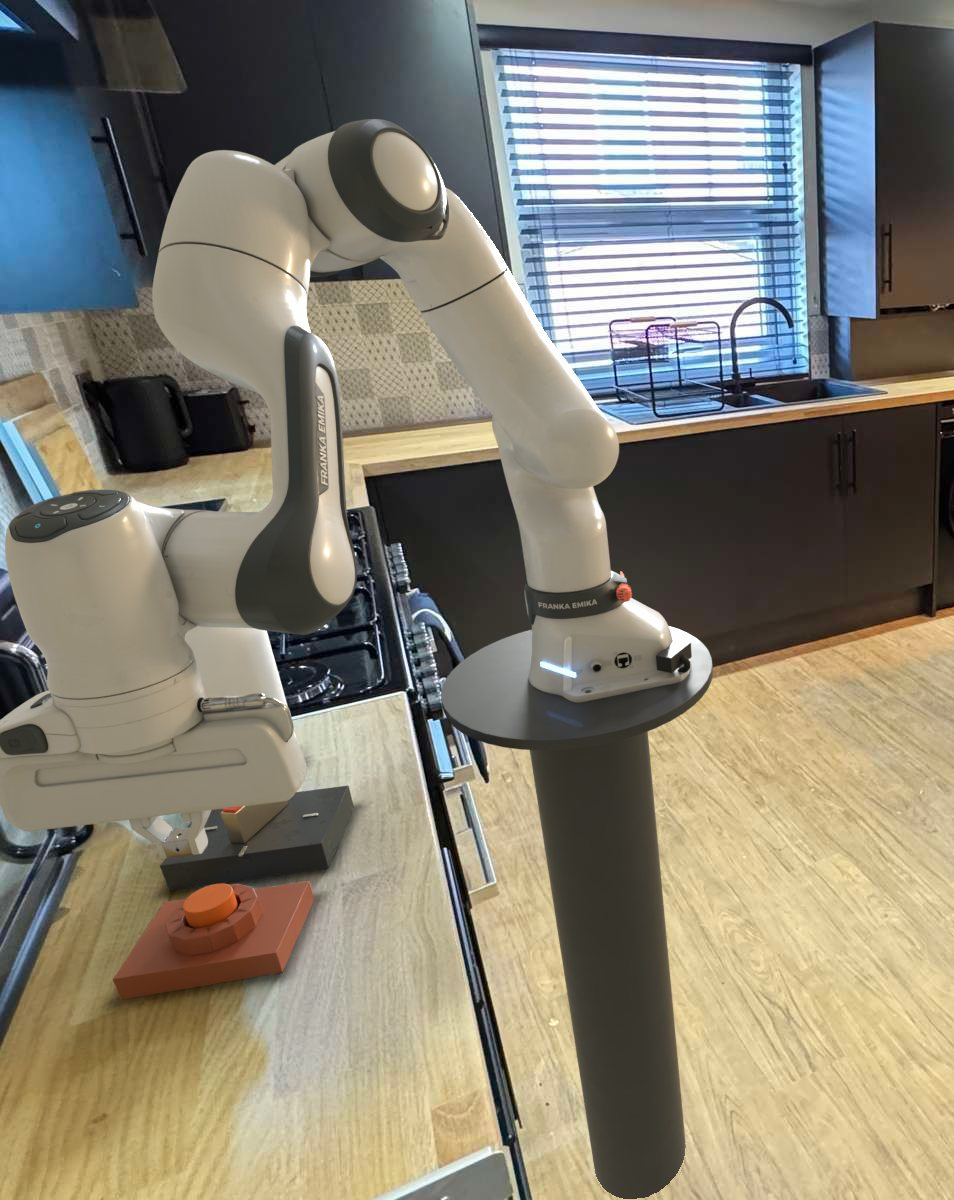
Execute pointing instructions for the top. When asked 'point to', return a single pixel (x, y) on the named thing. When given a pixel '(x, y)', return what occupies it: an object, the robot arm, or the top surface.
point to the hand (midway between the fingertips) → (185, 852)
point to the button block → (217, 942)
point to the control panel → (268, 843)
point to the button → (210, 905)
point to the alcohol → (235, 662)
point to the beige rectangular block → (249, 819)
